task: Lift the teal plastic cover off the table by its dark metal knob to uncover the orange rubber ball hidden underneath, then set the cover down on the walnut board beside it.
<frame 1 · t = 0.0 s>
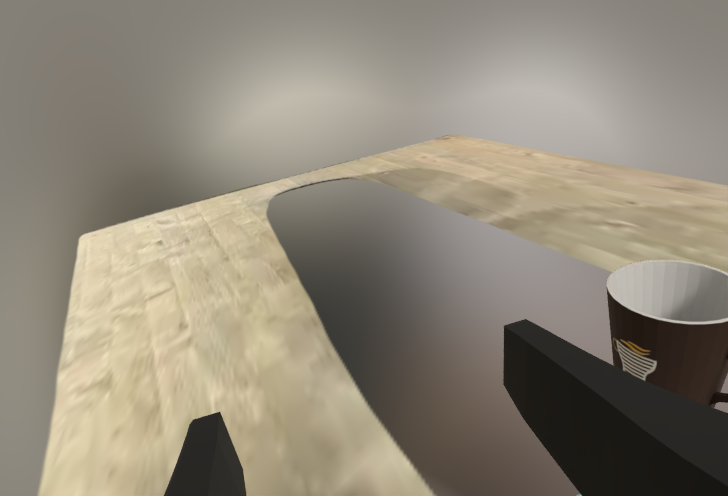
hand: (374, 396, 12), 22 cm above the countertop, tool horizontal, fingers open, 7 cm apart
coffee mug: (672, 415, 37), on the countertop
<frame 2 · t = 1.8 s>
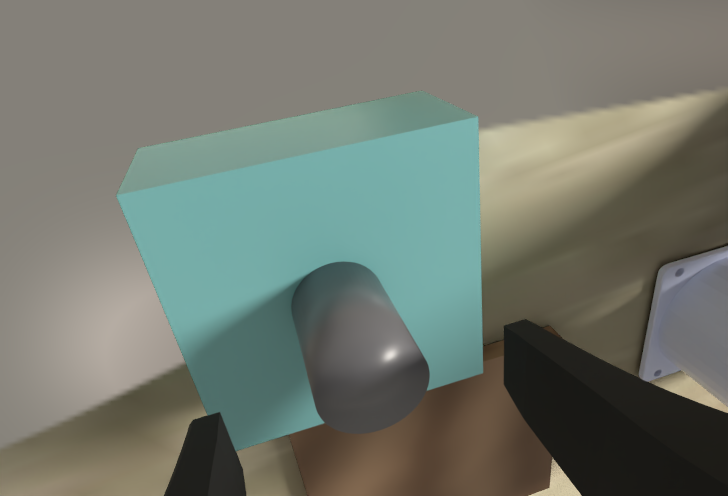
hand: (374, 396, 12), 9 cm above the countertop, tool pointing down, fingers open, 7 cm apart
cover: (313, 242, 19), on the countertop
walnut board: (431, 445, 27), on the countertop
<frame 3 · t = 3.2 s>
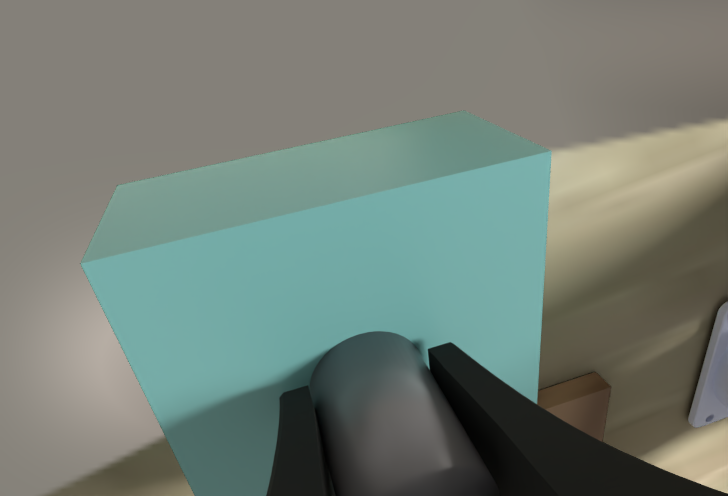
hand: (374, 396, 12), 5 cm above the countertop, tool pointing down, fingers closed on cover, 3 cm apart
cover: (330, 290, 16), on the countertop, touching gripper
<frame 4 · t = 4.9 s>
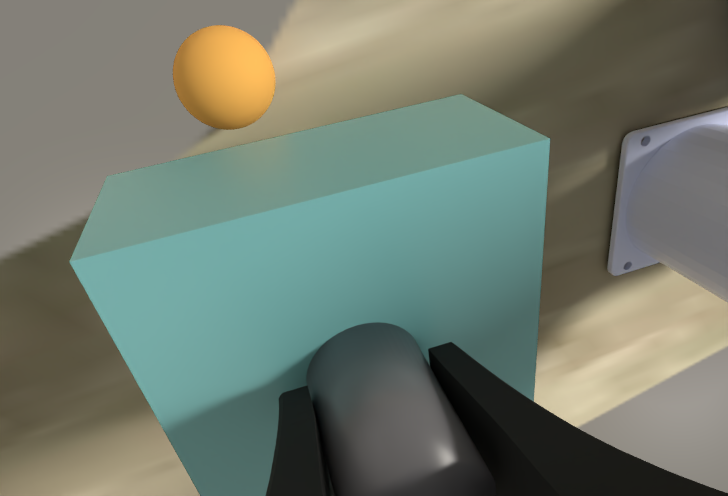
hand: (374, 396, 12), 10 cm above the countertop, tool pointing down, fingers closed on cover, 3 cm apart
ball: (225, 79, 16), on the countertop
cover: (327, 278, 16), point 5 cm above the countertop, touching gripper
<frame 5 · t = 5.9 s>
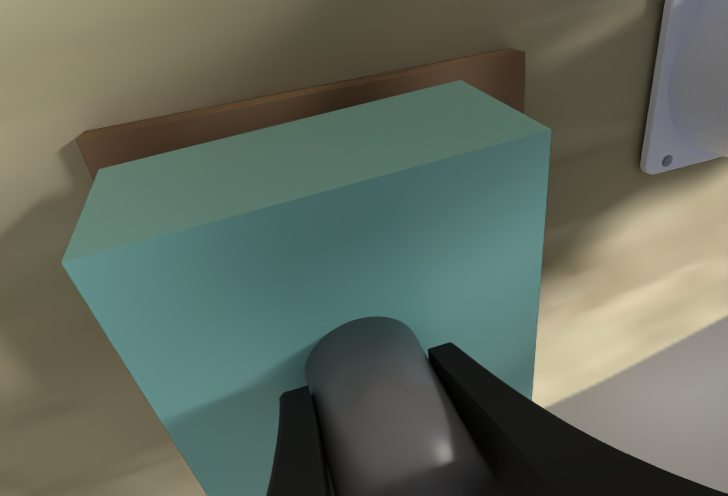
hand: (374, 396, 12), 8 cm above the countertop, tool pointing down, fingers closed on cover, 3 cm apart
cover: (325, 267, 16), point 2 cm above the countertop, touching gripper
walnut board: (341, 247, 19), on the countertop
when the fingers open (7 cm above the countertop, at t = 6.6 s): cover drops 1 cm, resting on walnut board.
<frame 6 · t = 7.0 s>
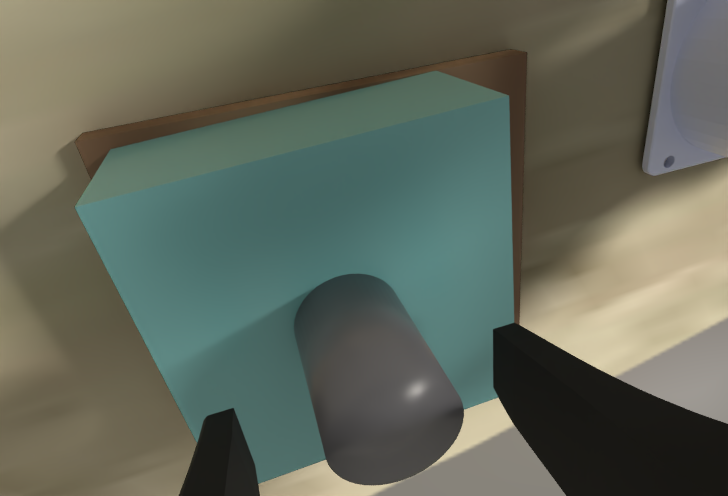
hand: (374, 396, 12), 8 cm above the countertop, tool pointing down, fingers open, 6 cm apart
cover: (318, 249, 17), point 1 cm above the countertop, touching walnut board
walnut board: (342, 249, 19), on the countertop
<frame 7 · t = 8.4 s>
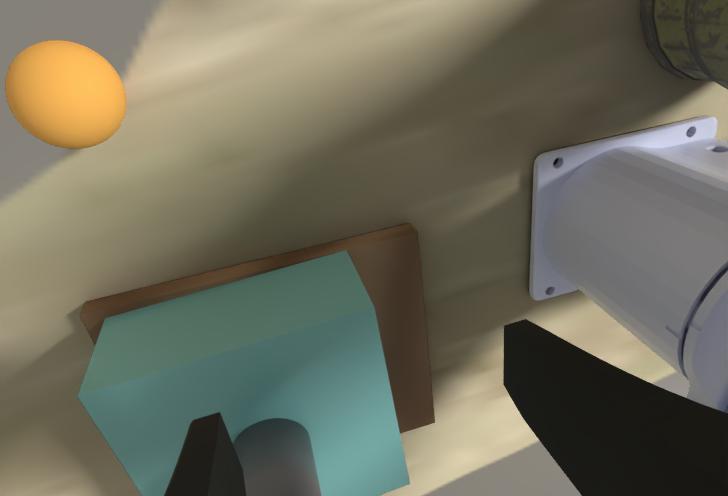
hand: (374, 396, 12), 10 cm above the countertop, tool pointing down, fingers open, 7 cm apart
ball: (69, 96, 15), on the countertop
cover: (263, 371, 23), point 1 cm above the countertop, touching walnut board
walnut board: (285, 364, 24), on the countertop
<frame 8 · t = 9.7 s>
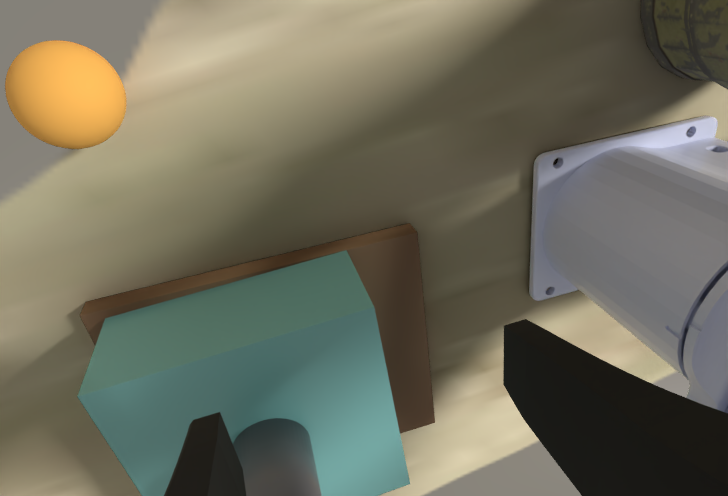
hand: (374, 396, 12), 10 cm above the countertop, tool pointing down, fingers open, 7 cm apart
ball: (69, 96, 15), on the countertop
cover: (263, 371, 23), point 1 cm above the countertop, touching walnut board
walnut board: (285, 364, 24), on the countertop
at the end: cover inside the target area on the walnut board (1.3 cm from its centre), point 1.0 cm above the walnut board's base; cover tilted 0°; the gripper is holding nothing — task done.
